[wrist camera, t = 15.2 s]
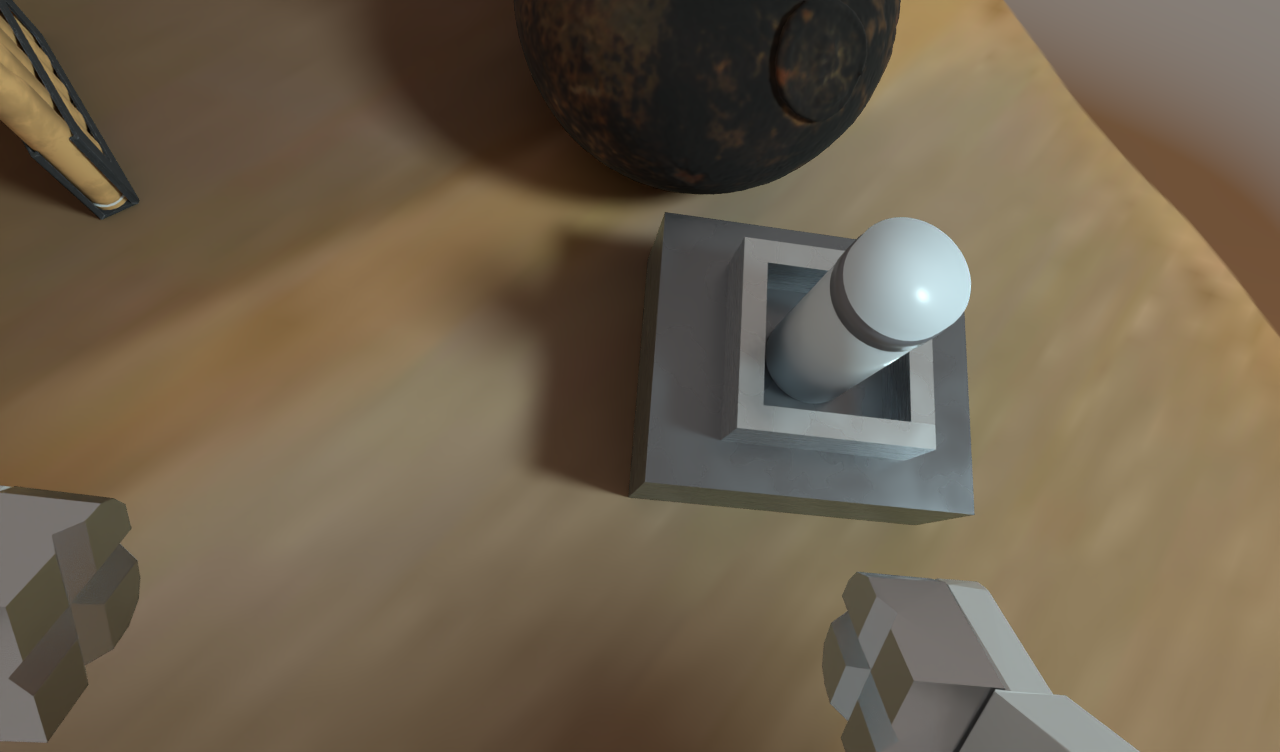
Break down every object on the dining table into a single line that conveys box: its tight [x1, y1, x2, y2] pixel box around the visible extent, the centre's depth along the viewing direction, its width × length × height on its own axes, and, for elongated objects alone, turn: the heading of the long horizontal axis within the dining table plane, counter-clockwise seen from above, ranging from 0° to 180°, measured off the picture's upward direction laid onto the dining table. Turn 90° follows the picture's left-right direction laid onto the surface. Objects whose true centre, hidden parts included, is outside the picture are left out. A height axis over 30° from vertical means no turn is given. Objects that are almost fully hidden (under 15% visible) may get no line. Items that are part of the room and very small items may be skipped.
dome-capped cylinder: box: [765, 217, 971, 403], centre depth 28 cm, size 4×4×9 cm
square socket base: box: [629, 212, 974, 525], centre depth 34 cm, size 14×12×8 cm
